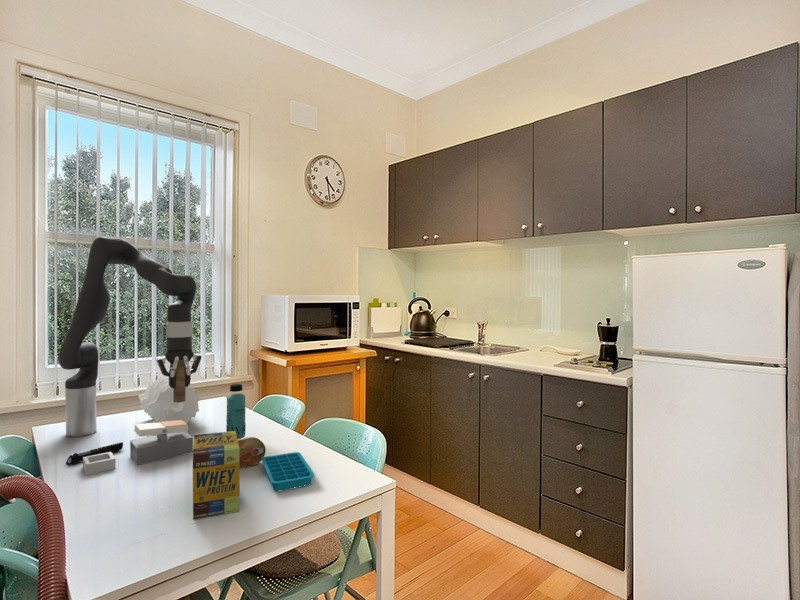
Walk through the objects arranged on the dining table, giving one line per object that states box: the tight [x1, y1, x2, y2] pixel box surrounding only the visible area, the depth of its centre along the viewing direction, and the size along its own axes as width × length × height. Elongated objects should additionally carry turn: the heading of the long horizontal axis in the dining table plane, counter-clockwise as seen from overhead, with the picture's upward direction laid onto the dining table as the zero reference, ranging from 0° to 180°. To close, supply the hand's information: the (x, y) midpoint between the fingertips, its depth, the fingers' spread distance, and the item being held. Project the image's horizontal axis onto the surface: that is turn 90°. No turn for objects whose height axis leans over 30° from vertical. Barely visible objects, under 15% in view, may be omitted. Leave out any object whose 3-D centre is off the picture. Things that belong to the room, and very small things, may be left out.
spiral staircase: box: [137, 376, 201, 425], centre depth 178 cm, size 18×18×25 cm
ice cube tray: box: [261, 451, 315, 492], centre depth 129 cm, size 12×20×3 cm, turn 25°
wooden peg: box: [173, 359, 186, 402], centre depth 148 cm, size 4×4×14 cm
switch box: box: [129, 431, 194, 466], centre depth 145 cm, size 10×16×7 cm, turn 131°
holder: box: [82, 452, 116, 476], centre depth 134 cm, size 7×7×3 cm
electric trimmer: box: [65, 442, 124, 467], centre depth 142 cm, size 4×16×3 cm, turn 145°
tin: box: [237, 436, 266, 469], centre depth 135 cm, size 15×3×8 cm, turn 117°
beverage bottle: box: [225, 383, 247, 439], centre depth 157 cm, size 6×7×20 cm
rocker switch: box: [134, 420, 189, 437], centre depth 145 cm, size 8×14×2 cm, turn 131°
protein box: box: [192, 431, 240, 520], centre depth 113 cm, size 10×15×16 cm
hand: (179, 386), depth 148 cm, fingers closed on wooden peg, 3 cm apart
